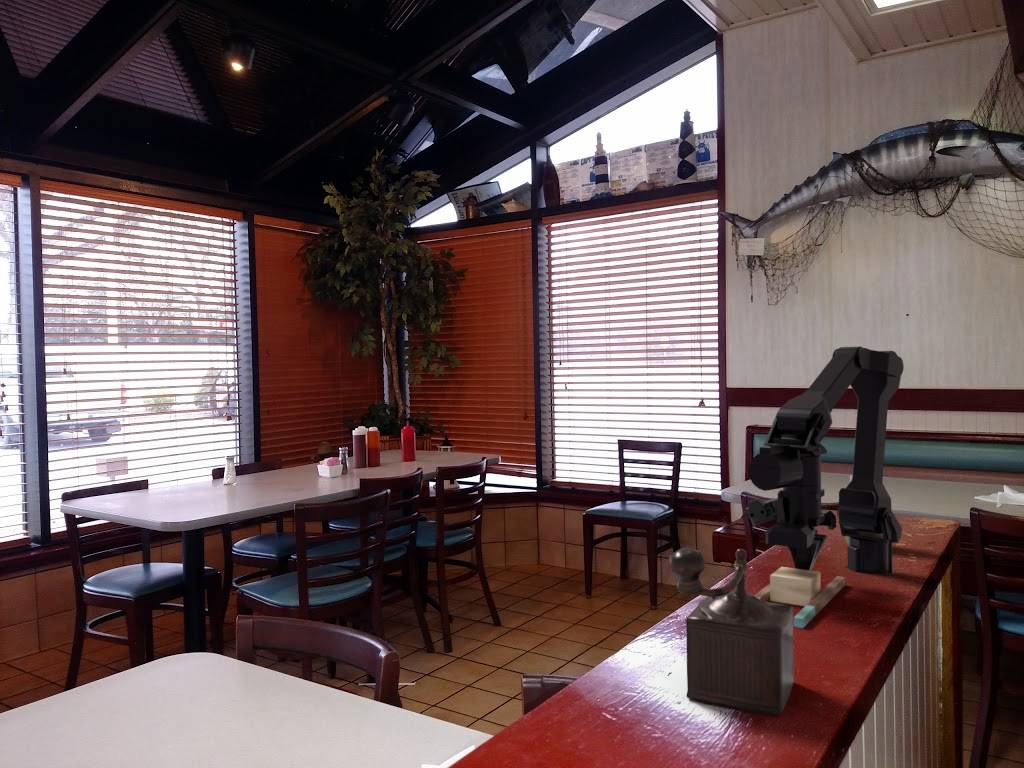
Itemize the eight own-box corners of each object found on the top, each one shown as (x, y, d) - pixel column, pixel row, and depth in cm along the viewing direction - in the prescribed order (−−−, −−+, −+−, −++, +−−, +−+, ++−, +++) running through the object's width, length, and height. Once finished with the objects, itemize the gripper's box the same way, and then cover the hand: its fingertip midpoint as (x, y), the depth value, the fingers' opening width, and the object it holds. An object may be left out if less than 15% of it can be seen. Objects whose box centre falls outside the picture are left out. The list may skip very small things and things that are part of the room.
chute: (786, 580, 134) (785, 569, 134) (847, 589, 128) (847, 577, 128) (735, 620, 113) (735, 607, 113) (805, 633, 108) (805, 619, 107)
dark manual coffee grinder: (702, 666, 97) (700, 523, 96) (796, 682, 91) (794, 531, 91) (665, 717, 83) (662, 551, 83) (772, 739, 78) (769, 561, 77)
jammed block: (782, 591, 125) (781, 566, 125) (820, 597, 122) (820, 571, 122) (770, 600, 120) (770, 575, 120) (810, 607, 117) (809, 580, 117)
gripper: (770, 473, 136) (770, 561, 137) (732, 487, 121) (733, 586, 122) (836, 477, 130) (837, 569, 130) (805, 493, 115) (806, 597, 115)
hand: (802, 580), depth 124 cm, fingers closed
